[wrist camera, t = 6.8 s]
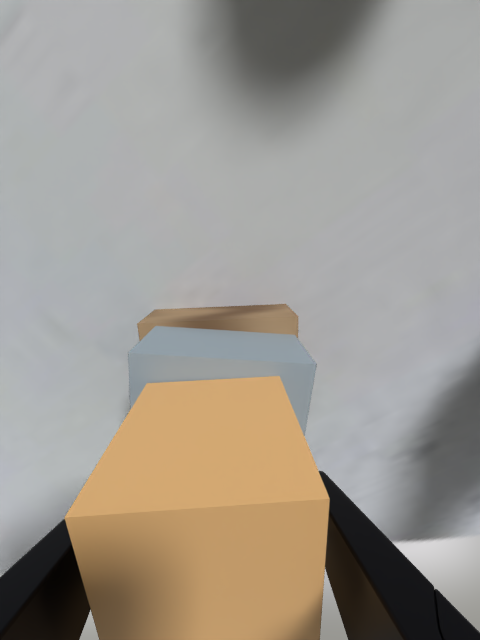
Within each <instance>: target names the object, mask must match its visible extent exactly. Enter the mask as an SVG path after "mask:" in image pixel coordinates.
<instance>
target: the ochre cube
mask: <svg viewBox="0 0 480 640" xmlns="http://www.w3.org/2000/svg"><path fill="white" fill-rule="evenodd" d="M329 502H330V498H329V496H328V493H327V491H326V488H325V486H324V483H323V481H322V479H321V476H320V474H319V471H318V469H317V466H316V464H315V461H314V459H313V457H312V454H311V452H310V449H309V447H308V444H307V442H306V439H305V437H304V435H303V432H302V430H301V427H300V425H299V422H298V420H297V417H296V415H295V413H294V410H293V408H292V405H291V403H290V400H289V398H288V395H287V393H286V391H285V388H284V386H283V383H282V381H281V378H280V376H269V377H251V378H232V379H214V380H196V381H178V382H160V383H147V384H146V385H145V387H144V389H143V390H142V392H141V394H140V395H139V397H138V398H137V400H136V402H135V403H134V405H133V407H132V408H131V410H130V411H129V413H128V415H127V416H126V418H125V420H124V421H123V423H122V425H121V426H120V428H119V429H118V431H117V433H116V434H115V436H114V438H113V439H112V441H111V442H110V444H109V446H108V447H107V449H106V451H105V452H104V454H103V456H102V457H101V459H100V460H99V462H98V464H97V465H96V467H95V469H94V470H93V472H92V473H91V475H90V477H89V478H88V480H87V482H86V483H85V485H84V487H83V488H82V490H81V491H80V493H79V495H78V496H77V498H76V500H75V501H74V503H73V504H72V506H71V508H70V509H69V511H68V513H67V514H66V516H65V521H66V525H67V528H68V532H69V535H70V539H71V542H72V546H73V549H74V553H75V556H76V560H77V563H78V567H79V570H80V574H81V577H82V581H83V584H84V588H85V591H86V595H87V598H88V602H89V605H90V609H91V612H92V616H93V619H94V622H95V626H96V630H97V633H98V637H99V640H320V628H321V614H322V600H323V599H322V598H323V586H324V572H325V571H324V570H325V558H326V544H327V530H328V516H329Z"/></svg>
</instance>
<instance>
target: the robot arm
mask: <svg viewBox="0 0 480 640" xmlns="http://www.w3.org/2000/svg"><path fill="white" fill-rule="evenodd" d="M319 474H320V476H321V479H322V481H323V483H324V486H325V488H326V491H327V493H328V496H329V498H330V502H329V516H328V530H327V544H326V558H325V569H326V572H327V575H328V578H329V581H330V584H331V587H332V590H333V593H334V597H335V600H336V603H337V606H338V609H339V612H340V615H341V618H342V621H343V624H344V628H345V631H346V634H347V637H348V640H480V632H479V631H478V630H477V629H475V627H473V625H472V624H471V623H470V622H469V621H467V619H465V618H464V616H463V615H462V614H461V613H460V612H459V611H458V610H457V609H456V608H455V607H454V606H453V605H452V604H451V603H450V602H449V601H448V600H447V599H446V598H445V597H444V596H443V595H442V594H441V593H440V592H439V591H438V590H437V589H435V590H434V586H433V585H432V584H431V583H430V582H429V581H428V580H427V579H426V577H424V576H423V574H422V573H421V572H420V571H419V570H418V569H417V568H416V567H415V566H414V565H413V564H412V563H411V562H410V561H409V560H408V559H407V558H406V557H405V556H404V555H403V554H402V553H401V552H400V551H399V549H397V548H396V546H395V545H394V544H393V543H392V542H391V541H390V540H389V539H388V538H387V537H386V536H385V535H384V534H383V533H382V532H381V531H380V530H379V529H378V528H377V527H376V526H375V525H374V524H373V523H372V521H371V520H370V519H369V518H368V517H367V516H366V515H365V514H364V513H363V512H362V511H361V510H360V509H359V508H358V507H357V506H356V505H355V504H354V503H353V502H352V501H351V500H350V499H349V498H348V497H347V496H346V495H345V493H344V492H343V491H342V490H341V489H340V488H339V487H338V486H337V485H336V484H335V483H334V482H333V481H332V480H331V479H330V478H329V477H328V476H327V475H326V474H325V473H324V472H323V471H319ZM89 612H90V605H89V602H88V598H87V595H86V591H85V588H84V584H83V581H82V577H81V574H80V570H79V567H78V563H77V560H76V556H75V553H74V549H73V546H72V542H71V539H70V535H69V532H68V528H67V525H66V521H65V519H64V520H62V521H61V522H60V523H59V524H58V525H57V526H56V527H55V528H54V529H53V530H51V531H50V532H49V533H48V534H47V535H46V536H45V537H44V538H43V539H42V540H41V541H39V542H38V543H37V544H36V545H35V546H34V547H33V548H32V549H31V550H30V551H28V552H27V553H26V554H25V555H24V556H23V557H22V558H21V559H20V560H19V561H18V562H16V563H15V564H14V565H13V566H12V567H11V568H10V569H9V570H8V571H7V572H5V573H4V574H3V575H2V576H1V577H0V640H79V639H80V636H81V633H82V630H83V628H84V625H85V623H86V620H87V617H88V615H89Z"/></svg>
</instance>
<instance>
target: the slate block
mask: <svg viewBox="0 0 480 640" xmlns="http://www.w3.org/2000/svg"><path fill="white" fill-rule="evenodd" d="M128 363H129V389H130V410H131V408H132V407H133V405H134V403H135V402H136V400H137V398H138V397H139V395H140V394H141V392H142V390H143V389H144V387H145V385H146V384H147V383H160V382H178V381H196V380H214V379H232V378H251V377H269V376H280V378H281V381H282V383H283V386H284V388H285V391H286V393H287V395H288V398H289V400H290V403H291V405H292V408H293V410H294V413H295V415H296V417H297V420H298V422H299V425H300V427H301V430H302V432H303V435H304V436H305V430H306V424H307V418H308V412H309V406H310V400H311V394H312V389H313V383H314V377H315V371H316V365H317V364H316V363H315V361H314V360H313V359H312V357H311V356H310V355H309V353H308V352H307V351H306V349H305V348H304V347H303V345H302V344H301V343H300V341H299V340H298V339H297V337H296V336H295V335H290V334H275V333H259V332H244V331H229V330H213V329H197V328H182V327H166V326H155V327H154V328H153V329H152V330H151V331H150V332H149V333H148V334H147V335H146V336H145V337H144V338H143V339H142V340H141V341H140V342H139V343H138V344H137V345H136V346H135V347H134V348H133V349H132V350H131V351H130V352H129V353H128Z"/></svg>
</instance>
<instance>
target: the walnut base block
mask: <svg viewBox="0 0 480 640" xmlns="http://www.w3.org/2000/svg"><path fill="white" fill-rule="evenodd" d="M137 325H138V332H139V339H140V341H141V340H142V339H143V338H144V337H145V336H146V335H147V334H148V333H149V332H150V331H151V330H152V329H153V328H154V327H155V326H166V327H182V328H197V329H213V330H229V331H244V332H259V333H275V334H290V335H295V336H296V337H297V339H298V316H297V315H296V314H295V313H294V312H293V311H292V310H291V309H290V308H289V307H288V306H287V305H286V304H276V305H253V306H229V307H206V308H183V309H160V310H154V311H153V312H152V313H150V314H149V315H148V316H146V317H145V318H144V319H143V320H141V321H140V322H139V323H137Z"/></svg>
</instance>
